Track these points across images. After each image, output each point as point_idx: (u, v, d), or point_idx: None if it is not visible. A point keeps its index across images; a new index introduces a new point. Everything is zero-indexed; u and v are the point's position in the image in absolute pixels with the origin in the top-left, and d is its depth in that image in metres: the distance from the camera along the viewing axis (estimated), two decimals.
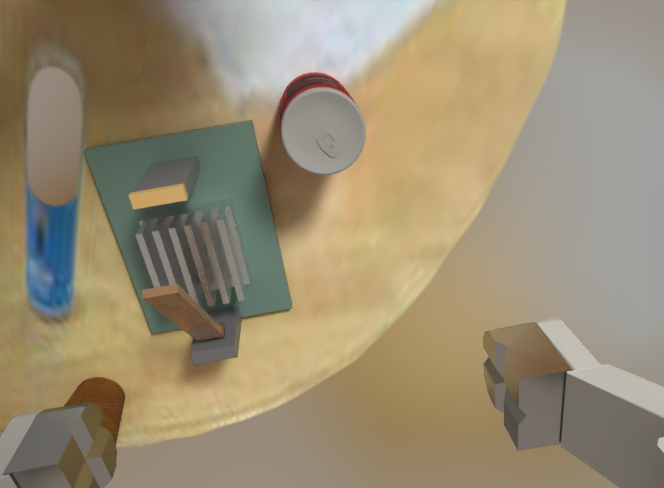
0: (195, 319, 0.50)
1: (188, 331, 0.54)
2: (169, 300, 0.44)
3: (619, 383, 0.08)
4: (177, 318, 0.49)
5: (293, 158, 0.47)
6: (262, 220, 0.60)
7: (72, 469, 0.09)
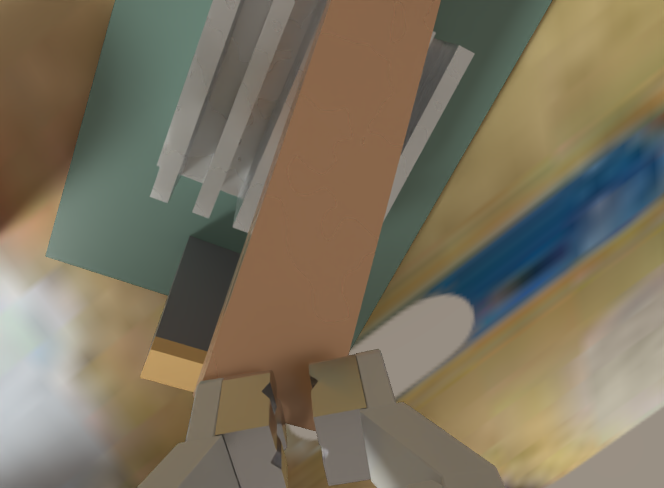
0: (339, 87, 0.13)
1: (428, 11, 0.15)
2: (274, 344, 0.11)
3: (401, 423, 0.08)
4: (372, 155, 0.13)
5: None
6: (128, 58, 0.23)
7: (274, 432, 0.09)
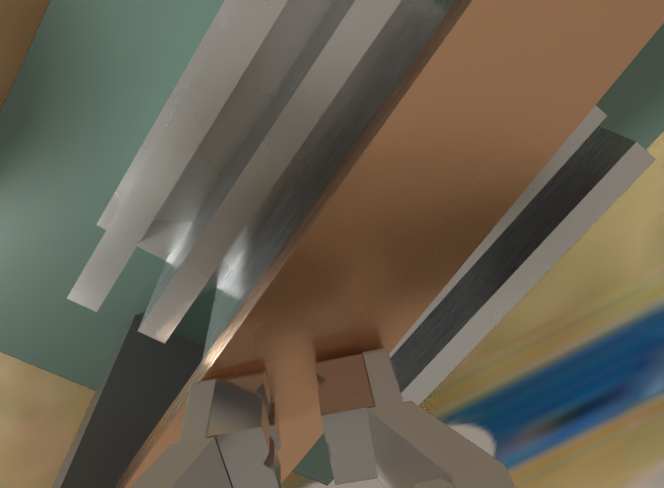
0: (354, 244, 0.10)
1: (547, 142, 0.09)
2: None
3: (409, 422, 0.08)
4: (368, 329, 0.10)
5: None
6: (80, 48, 0.15)
7: (266, 433, 0.09)
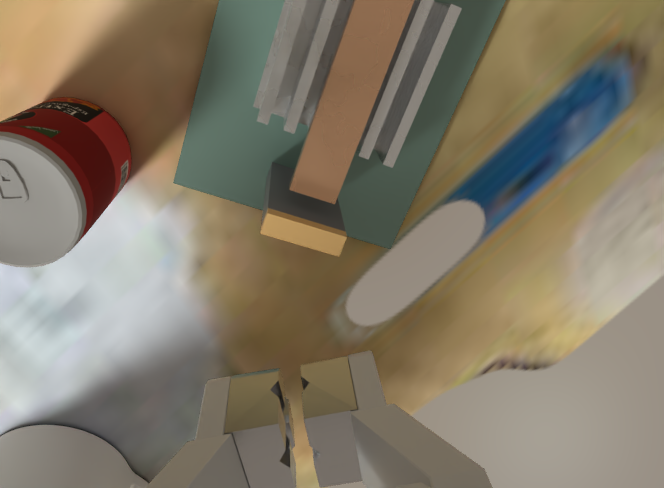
0: (350, 63, 0.29)
1: (404, 11, 0.28)
2: (316, 173, 0.31)
3: (392, 425, 0.08)
4: (363, 95, 0.29)
5: (73, 194, 0.28)
6: (228, 35, 0.34)
7: (282, 430, 0.09)
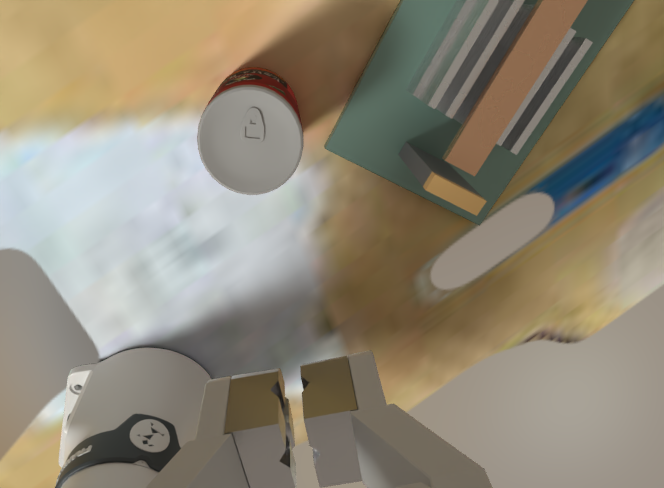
0: (512, 71, 0.39)
1: (558, 38, 0.38)
2: (467, 150, 0.41)
3: (392, 425, 0.08)
4: (515, 96, 0.40)
5: (300, 140, 0.37)
6: (398, 37, 0.44)
7: (283, 431, 0.09)
